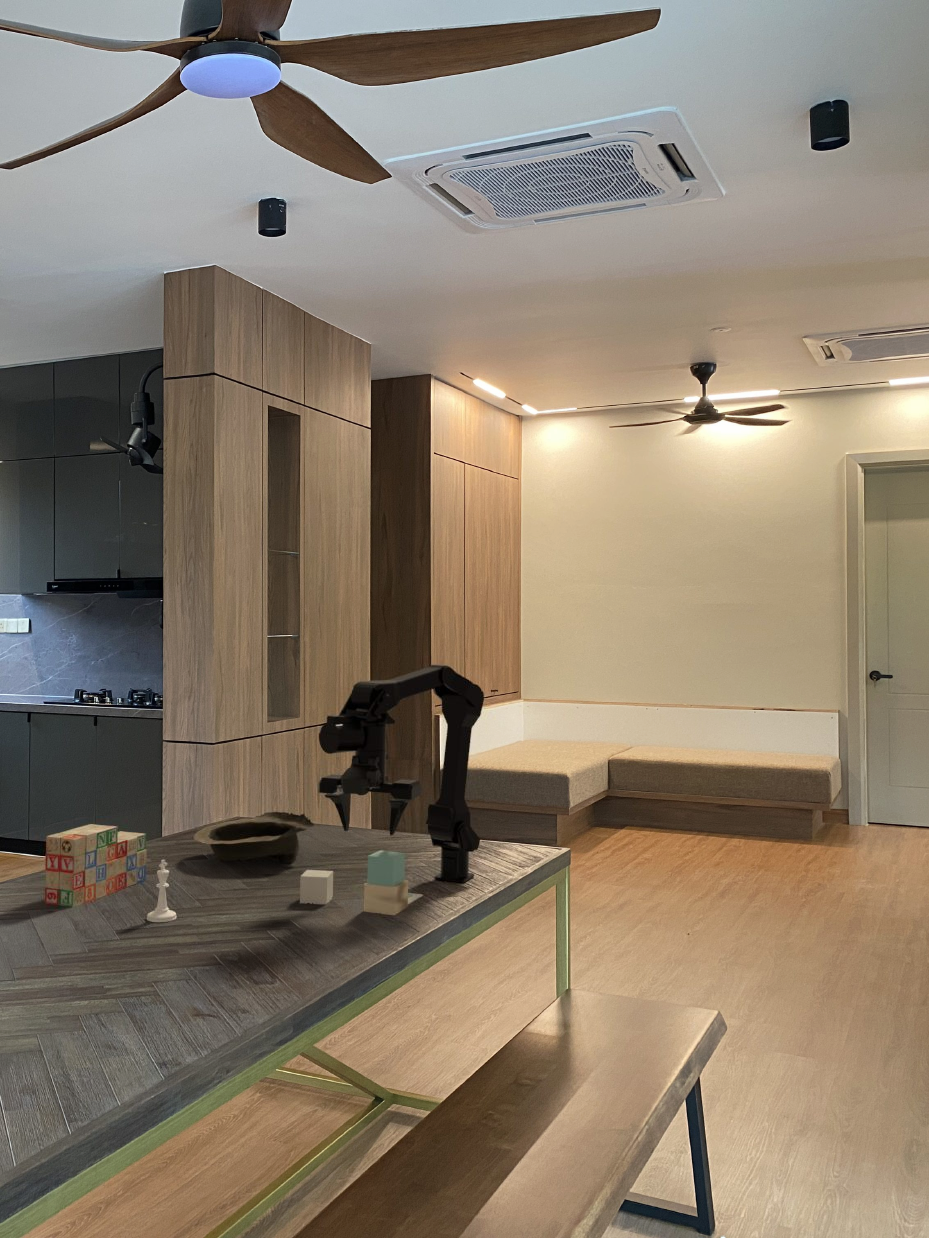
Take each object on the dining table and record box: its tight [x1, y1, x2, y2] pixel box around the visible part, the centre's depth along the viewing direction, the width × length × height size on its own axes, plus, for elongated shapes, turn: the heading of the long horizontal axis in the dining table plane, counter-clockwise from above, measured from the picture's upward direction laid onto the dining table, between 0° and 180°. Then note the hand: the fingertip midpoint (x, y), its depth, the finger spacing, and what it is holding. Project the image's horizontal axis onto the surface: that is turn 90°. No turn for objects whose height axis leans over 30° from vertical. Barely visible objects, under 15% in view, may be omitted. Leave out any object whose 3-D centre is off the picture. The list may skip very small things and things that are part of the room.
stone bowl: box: [193, 811, 315, 864], centre depth 228 cm, size 25×25×9 cm
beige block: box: [299, 869, 334, 905], centre depth 197 cm, size 5×5×5 cm
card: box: [408, 892, 424, 905], centre depth 200 cm, size 7×7×1 cm
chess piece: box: [146, 859, 177, 923], centre depth 182 cm, size 5×5×10 cm
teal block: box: [366, 849, 406, 887], centre depth 192 cm, size 5×5×5 cm
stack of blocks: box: [44, 823, 148, 908], centre depth 199 cm, size 21×6×12 cm, turn 161°
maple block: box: [363, 879, 409, 916], centre depth 192 cm, size 6×6×5 cm
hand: (369, 832), depth 199 cm, fingers open, 9 cm apart
